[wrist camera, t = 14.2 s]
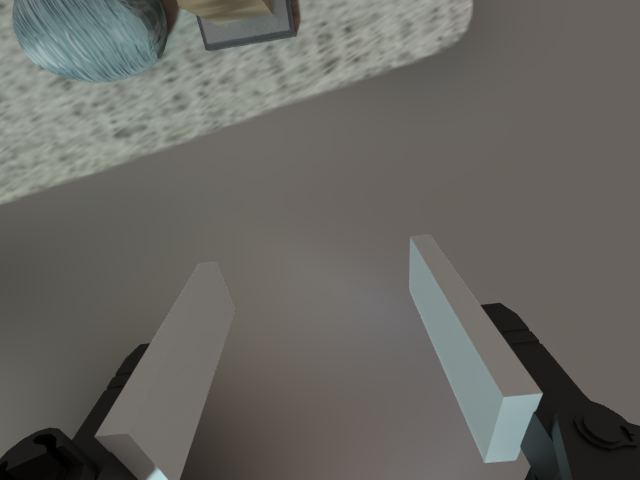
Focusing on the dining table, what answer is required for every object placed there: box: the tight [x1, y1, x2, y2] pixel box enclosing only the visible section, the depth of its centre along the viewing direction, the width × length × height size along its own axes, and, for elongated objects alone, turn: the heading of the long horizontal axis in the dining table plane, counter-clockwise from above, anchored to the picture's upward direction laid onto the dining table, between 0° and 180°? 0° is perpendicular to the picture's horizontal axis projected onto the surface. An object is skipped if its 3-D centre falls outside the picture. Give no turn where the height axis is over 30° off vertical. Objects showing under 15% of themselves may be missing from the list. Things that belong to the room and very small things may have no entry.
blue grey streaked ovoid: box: [13, 0, 167, 82], centre depth 29 cm, size 14×10×10 cm
